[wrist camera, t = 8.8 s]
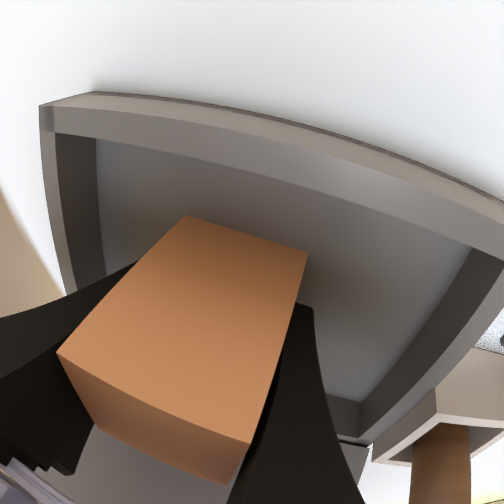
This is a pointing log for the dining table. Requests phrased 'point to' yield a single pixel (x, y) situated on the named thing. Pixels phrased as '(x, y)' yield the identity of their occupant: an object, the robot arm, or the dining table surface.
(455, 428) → the rod
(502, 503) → the utensil holder
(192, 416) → the block
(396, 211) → the case
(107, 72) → the dining table surface
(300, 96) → the dining table surface
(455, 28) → the dining table surface
